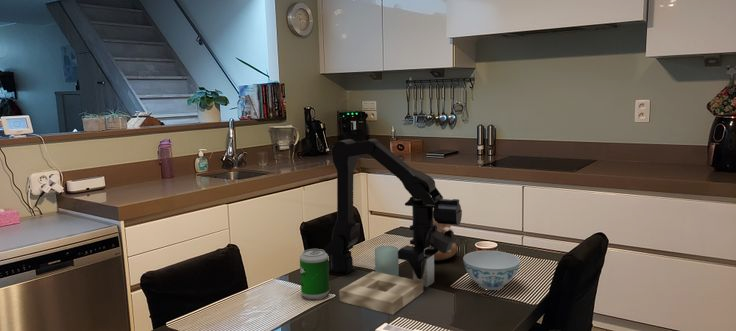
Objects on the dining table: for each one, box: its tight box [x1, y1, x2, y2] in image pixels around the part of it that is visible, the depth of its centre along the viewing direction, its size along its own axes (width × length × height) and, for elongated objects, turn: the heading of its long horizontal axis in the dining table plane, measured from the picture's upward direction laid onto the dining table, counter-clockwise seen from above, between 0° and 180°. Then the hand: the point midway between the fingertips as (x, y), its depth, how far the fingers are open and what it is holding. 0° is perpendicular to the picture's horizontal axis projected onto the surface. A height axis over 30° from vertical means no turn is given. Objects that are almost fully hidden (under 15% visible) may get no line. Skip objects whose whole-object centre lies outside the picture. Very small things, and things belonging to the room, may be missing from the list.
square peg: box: [412, 253, 435, 288], centre depth 146 cm, size 4×4×8 cm
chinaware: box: [462, 250, 521, 291], centre depth 142 cm, size 15×15×8 cm
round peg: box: [374, 245, 400, 277], centre depth 152 cm, size 7×7×8 cm
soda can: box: [299, 248, 330, 300], centre depth 139 cm, size 8×8×12 cm
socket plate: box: [338, 270, 424, 315], centre depth 137 cm, size 16×16×3 cm
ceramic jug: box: [411, 217, 458, 262], centre depth 168 cm, size 18×14×14 cm
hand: (423, 276), depth 146 cm, fingers closed on square peg, 4 cm apart
